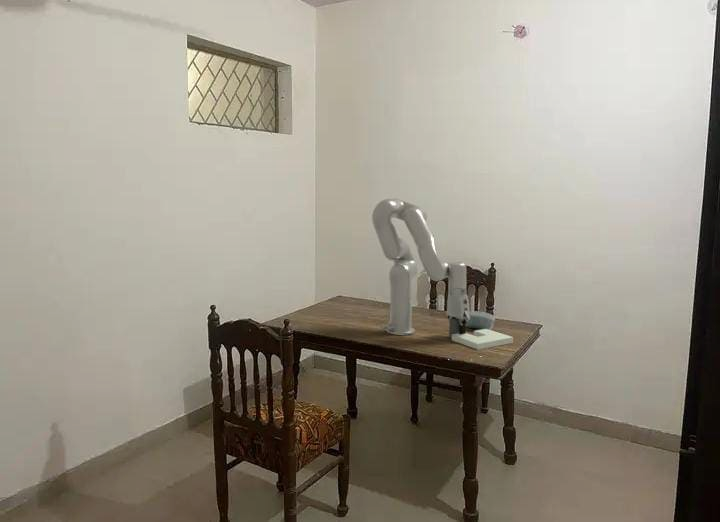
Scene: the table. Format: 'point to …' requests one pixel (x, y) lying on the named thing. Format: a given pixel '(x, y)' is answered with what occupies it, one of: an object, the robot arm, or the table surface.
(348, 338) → the table surface
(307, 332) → the table surface
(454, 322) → the gray rectangular block
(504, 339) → the board
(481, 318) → the streaked blue-grey ovoid
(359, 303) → the table surface
